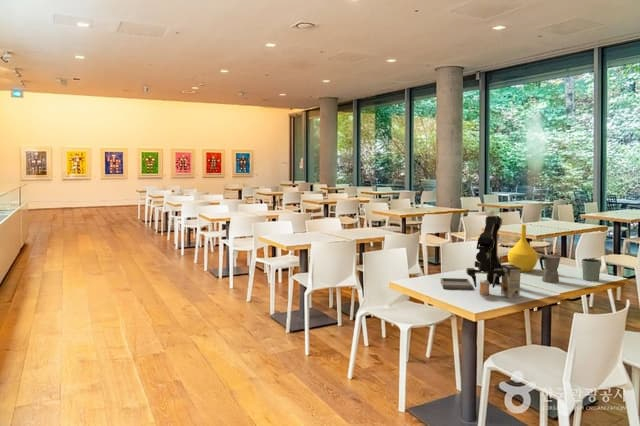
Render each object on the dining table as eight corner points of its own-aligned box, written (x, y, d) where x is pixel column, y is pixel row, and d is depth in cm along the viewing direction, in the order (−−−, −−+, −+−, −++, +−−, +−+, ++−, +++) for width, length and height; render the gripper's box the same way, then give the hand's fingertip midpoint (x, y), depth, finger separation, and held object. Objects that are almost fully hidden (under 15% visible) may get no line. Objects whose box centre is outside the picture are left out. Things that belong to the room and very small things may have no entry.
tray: (467, 282, 293) (467, 278, 292) (471, 289, 277) (471, 285, 277) (440, 282, 295) (440, 278, 294) (443, 288, 279) (443, 284, 279)
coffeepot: (552, 278, 301) (554, 249, 299) (565, 282, 292) (566, 252, 290) (532, 280, 296) (534, 251, 294) (544, 284, 287) (546, 254, 285)
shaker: (488, 292, 270) (488, 280, 270) (489, 295, 266) (490, 282, 265) (478, 292, 271) (478, 280, 270) (480, 295, 266) (480, 282, 266)
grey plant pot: (604, 281, 294) (605, 261, 292) (590, 282, 291) (591, 262, 289) (590, 277, 303) (591, 258, 302) (577, 278, 300) (577, 259, 299)
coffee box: (500, 293, 269) (501, 264, 267) (511, 293, 269) (512, 264, 268) (508, 298, 260) (509, 268, 258) (520, 297, 260) (521, 267, 259)
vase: (543, 272, 317) (545, 226, 314) (518, 274, 313) (520, 227, 309) (525, 266, 334) (527, 222, 331) (501, 268, 330) (502, 223, 327)
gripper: (499, 256, 273) (499, 284, 275) (465, 255, 276) (464, 283, 277) (504, 260, 262) (503, 289, 264) (468, 259, 265) (467, 288, 266)
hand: (484, 287), depth 268 cm, fingers open, 9 cm apart
